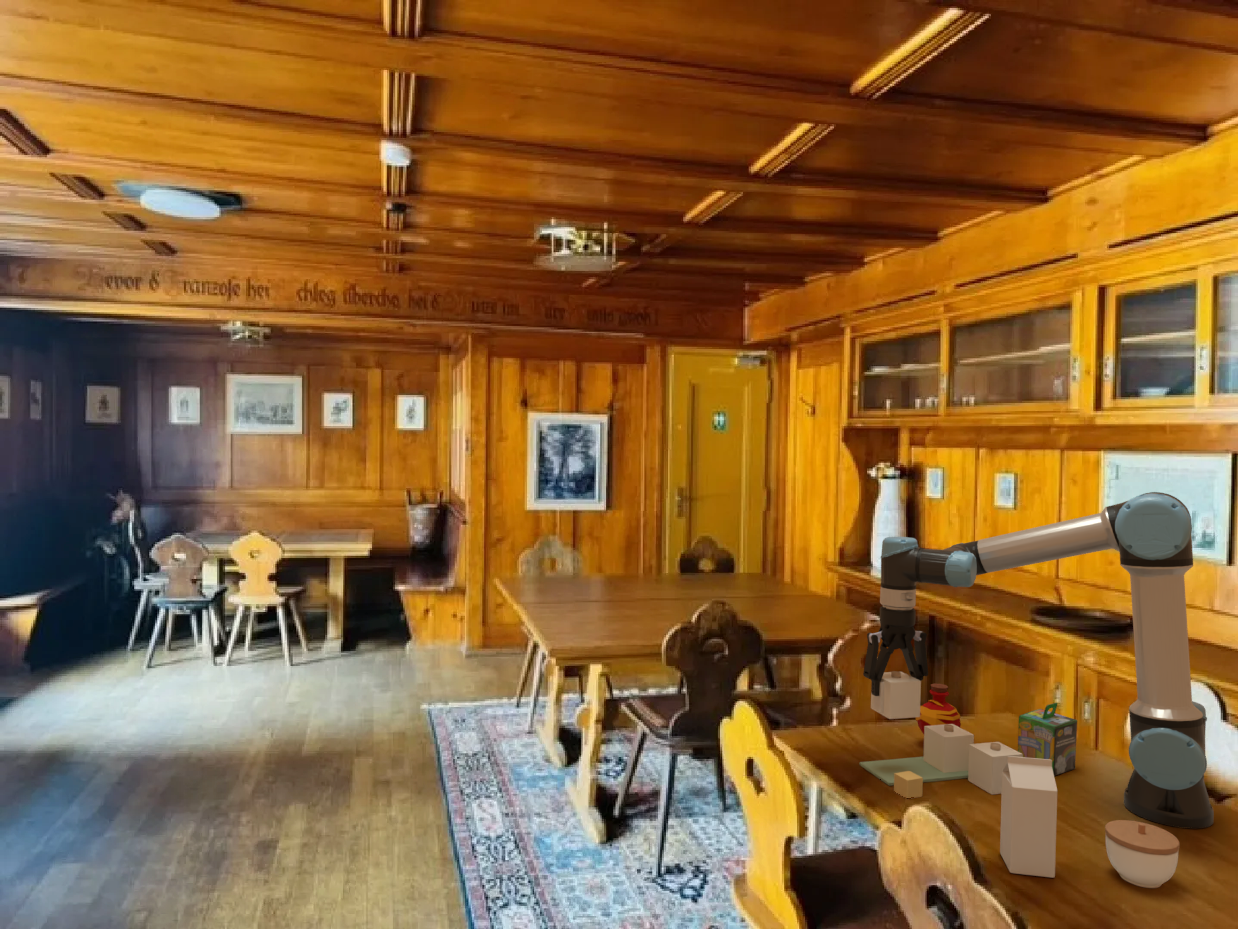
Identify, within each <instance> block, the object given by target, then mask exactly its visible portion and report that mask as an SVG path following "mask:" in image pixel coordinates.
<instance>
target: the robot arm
mask: <svg viewBox="0 0 1238 929" xmlns="http://www.w3.org/2000/svg"><path fill="white" fill-rule="evenodd" d="M1190 513H1191V512H1190V511H1189V510H1188V508H1187V506H1186V505H1185V504H1184V503H1183V502H1182V501H1181V500H1180V499H1179V498H1178V497H1176V496H1173V495H1171V494H1169V493H1166V492H1165V493H1164V492H1159V491H1158V492H1157V491H1151V492H1145V493H1143V494H1139V495H1136V496H1134V497H1133V498H1130V499H1129V500H1125V501H1123V502H1120V503H1116V504H1112V505H1108V506H1105V507H1104V508H1103V509H1102V511H1101V512H1100V513H1099V512H1098V513H1094V514H1090V515H1087V516H1082V517H1078V518H1073V519H1072V518H1071V519H1067V520H1063V521H1058V522H1054V523H1050V524H1046V525H1040V526H1037V527H1032V528H1027V529H1024V530H1019V531H1014V532H1009V533H1005V534H1000V535H996V536H992V537H991V536H990V537H988V538H981V539H978V540H974V541H969V542H964V543H963V542H960V543H956V544H954V545H953V544H952V545H951V546H949V547H947V548H944V549H938V548H937V549H936V548H925V547H920V546H919V544H918V540H917V539H916V538H915V537H908V536H887V537H885V538H883V540H882V543H881V556H880V590H879V592H880V595H879V603H880V604H881V605H880V607H879V623H880V627H879V629H878V632H873V633H872V632H868V633H867V634H866V638H867V649H866V653H865V654H866V655H865V663H864V668H863V677H865V678H866V679H868V680H870V681H871V684H870V685H871V686H870V687H871V688H870V689H871V691H870V692H871V693H872V695H874V709H876V710H878V711H880V712H884V682H882V681H881V679H882V676H883V674H884V672H885V671H886V668H887V666H888V663H889V660H890V657H891V655H893V654H894V652H895V650H898V649H899V650H900V651H902V656H903V658H904V661H905V664H906V667H907V670H908V672H909V675H910V676H912V677H914V678H916V679H918V680H920V681H921V682H922V681H923V680H924V677H928V676H929V666H928V656H927V648H926V642H927V637H928V635H927V633H926V632H924V631H921V630H918V629H917V630H916V629H915V624H916V609H915V608H914V607H915V606H916V603H917V602H916V600H917V599H916V598H917V594H916V593H917V583H921V584H923V583H925V584H932V585H940V586H950V587H952V588H960V587H961V588H970V587H973V585H974V584H975V581H976V577H977V576H979V575H985V574H989V573H994V572H998V571H1004V570H1010V569H1014V568H1019V567H1025V566H1030V565H1034V564H1039V563H1040V564H1041V563H1044V562H1046V563H1047V562H1051V561H1055V560H1060V559H1065V558H1066V559H1067V558H1070V557H1077V556H1081V555H1086V554H1091V553H1096V552H1102V551H1107V550H1111V549H1112V550H1116V551H1117V552H1118V553H1119V563H1120V567H1122V568H1123V569H1124V570H1125V571H1126V572H1127V573H1129V578H1130V592H1131V593H1130V594H1131V597H1130V598H1131V609H1132V626H1133V627H1132V628H1133V641H1134V642H1133V643H1134V645H1133V646H1134V659H1135V672H1136V673H1135V674H1136V676H1135V677H1136V693H1137V699H1136V700H1135V701H1134V702H1133V703H1132V704H1131V705H1129V709H1128V712H1129V726H1130V742H1129V746H1128V755H1129V759H1130V761H1131V764H1132V766H1133V768H1134V769H1133V771H1132V773H1131V776H1130V778H1129V780H1128V783H1127V786H1126V787H1125V790H1124V792H1123V805H1124V807H1125V808H1126V809H1128V811H1130V812H1131V813H1133V814H1135V815H1136V816H1138V817H1140V818H1142V819H1146V820H1149V821H1150V822H1154V823H1158V824H1161V825H1164V826H1165V825H1166V826H1170V827H1175V828H1182V829H1204V828H1209V827H1211V826H1212V825H1213V824H1214V818H1215V817H1214V807H1213V805H1212V804H1211V801H1210V797H1209V794H1208V792H1207V791H1208V790H1207V787H1206V784H1205V773H1206V772H1207V767H1208V760H1207V757H1206V722H1207V721H1208V717H1207V714H1206V712H1207V711H1206V708H1205V706H1204V705H1203V704H1201V703H1199V702H1196V701H1193V697H1192V696H1193V695H1192V681H1191V678H1192V677H1191V664H1190V662H1191V661H1190V647H1189V645H1190V644H1189V636H1188V634H1189V633H1188V618H1187V617H1188V616H1187V603H1186V602H1187V600H1186V585H1185V584H1186V583H1185V582H1186V581H1185V575H1186V573H1187V572H1188V571H1189V570H1191V568H1193V567H1194V556H1193V555H1194V554H1193V553H1194V552H1193V540H1192V530H1193V526H1192V525H1193V523H1192V517H1191V514H1190ZM913 640H914V641H913ZM912 641H913V642H914V643H913V644H914V647H913V645H912ZM880 642H881V644H880ZM878 652H879V653H878ZM871 693H870V694H871Z"/></svg>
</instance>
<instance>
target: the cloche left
mask: <svg viewBox="0 0 1238 929" xmlns="http://www.w3.org/2000/svg"><path fill="white" fill-rule="evenodd" d="M881 681H882V682H884V712H880V711H878V710H876V709H874V695H872V693H870V694H871V695H870V709H871V710H873V711H875V712H877V713H878V714H880V715H881V716H883V717H885V718H887V719H889V720H894V719H895V720H896V719H909V718H916V717H920V706H921V690H922V689H921V688H922V687H921V686H922V681H920V680H918V679H916V678H914V677H912V676H911V675H910V674H907V673H905V672H903V671H897V670H896V671H895V670H892V671H888V672H885V671H884V674H883V676H882V679H881Z"/></svg>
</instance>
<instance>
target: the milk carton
mask: <svg viewBox="0 0 1238 929" xmlns="http://www.w3.org/2000/svg"><path fill="white" fill-rule="evenodd" d="M1000 806H1001V808H1000V837H999V838H1000V841H999V844H1000V845H999V853H1000V855H1001V858H1002V859H1003V862H1004V863H1005V865H1006V867H1007V870H1008V871H1009V873H1011V874H1017V875H1026V876H1034V877H1035V876H1036V877H1045V878H1056V877H1055V876H1056V854H1057V853H1056V849H1057V848H1056V846H1057V816H1058V815H1057V813H1058V812H1057V810H1058V788H1057V782H1056V779H1055V776H1054V774H1053V769H1052V760H1049V759H1037V758H1026V757H1014V756H1008V760H1007V764H1006V765H1005V767H1004V769H1003V771H1002V794H1001V803H1000Z"/></svg>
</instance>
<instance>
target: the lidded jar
mask: <svg viewBox="0 0 1238 929" xmlns="http://www.w3.org/2000/svg"><path fill="white" fill-rule="evenodd" d="M1104 833H1105V848H1106V853H1107V858H1108V860H1109V861H1110V864H1111V865H1112V867H1113V868H1114V869H1115V871H1117V873H1118V874H1119V876H1120V878H1121V879H1122V880H1124V881H1125V882H1127V883H1129V884H1131V885H1133V886H1137V887H1140V888H1146V889H1157V888H1160V887H1161V886H1162V884H1165V883H1167V882H1168V881H1169V880H1171V878H1172V877H1173V875H1174V874H1175V873H1176V871H1177V870H1176V869H1177V866H1178V861H1179V851H1180V848H1181V847H1180V846H1181V845H1180V841H1179V839H1178V838H1177V836H1175V835H1174V834H1173V833H1171V832H1169V831H1167V830H1166V829H1163V828H1162V827H1158V826H1156V825H1153V824H1149V823H1146V822H1142V821H1135V820H1127V819H1120V820H1119V819H1116V820H1111V821H1109V822H1107V823H1106V824H1105V825H1104Z"/></svg>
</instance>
